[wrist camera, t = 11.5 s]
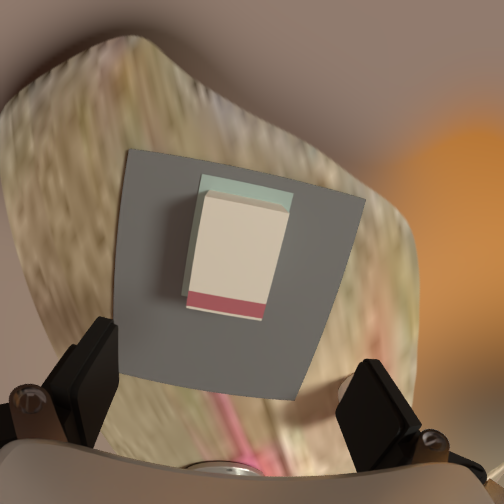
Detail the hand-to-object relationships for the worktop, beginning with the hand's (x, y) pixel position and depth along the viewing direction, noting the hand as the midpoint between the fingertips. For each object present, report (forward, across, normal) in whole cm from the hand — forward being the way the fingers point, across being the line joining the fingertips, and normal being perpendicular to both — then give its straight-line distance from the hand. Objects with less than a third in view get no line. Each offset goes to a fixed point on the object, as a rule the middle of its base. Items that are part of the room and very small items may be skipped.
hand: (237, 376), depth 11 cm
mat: (+15, 0, +4) cm, 15 cm away
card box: (+14, 0, -1) cm, 14 cm away
